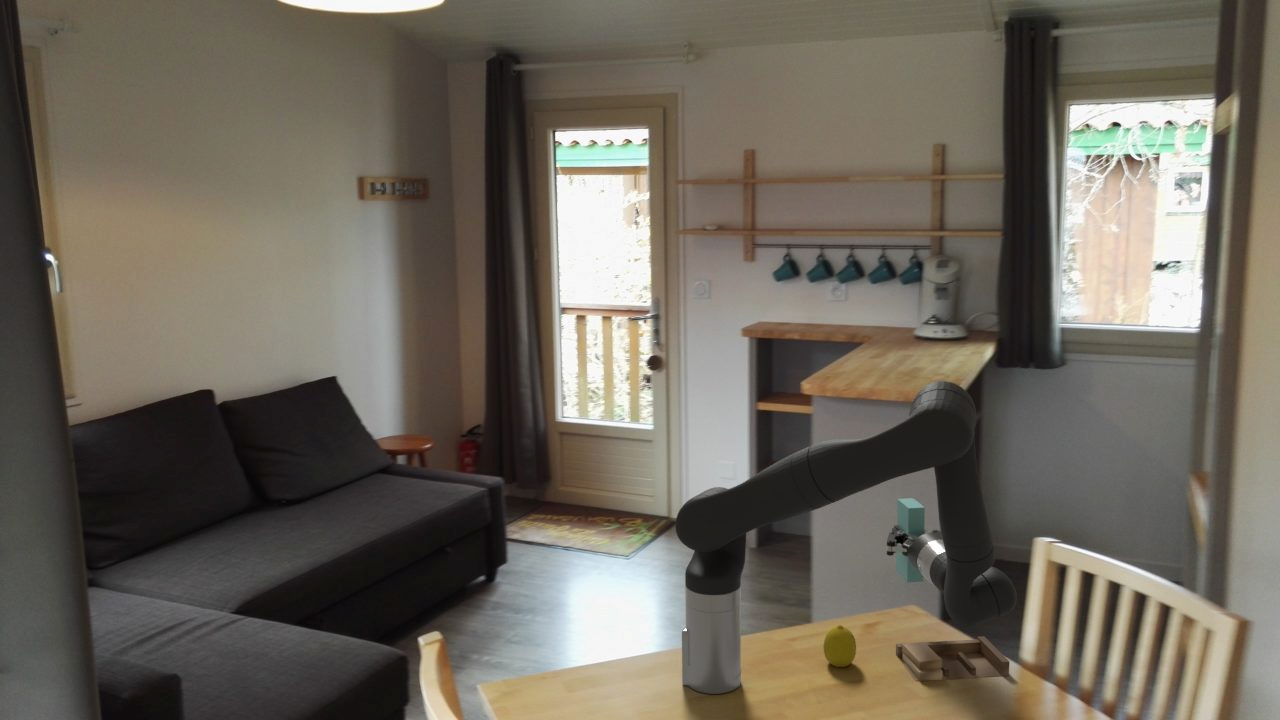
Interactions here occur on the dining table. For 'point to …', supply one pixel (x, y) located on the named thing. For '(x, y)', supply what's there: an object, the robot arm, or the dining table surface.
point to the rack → (966, 659)
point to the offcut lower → (923, 671)
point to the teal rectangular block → (911, 521)
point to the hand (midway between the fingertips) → (904, 529)
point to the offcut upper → (922, 655)
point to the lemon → (839, 646)
